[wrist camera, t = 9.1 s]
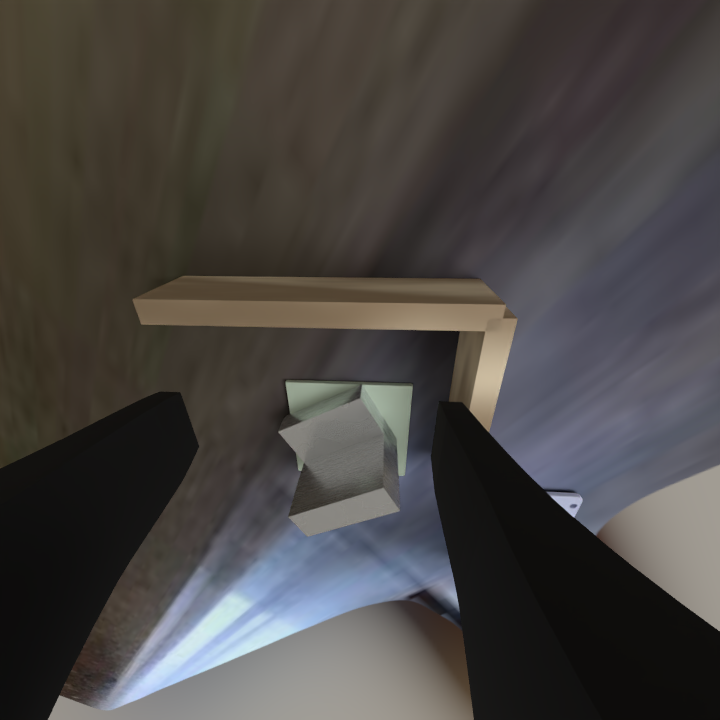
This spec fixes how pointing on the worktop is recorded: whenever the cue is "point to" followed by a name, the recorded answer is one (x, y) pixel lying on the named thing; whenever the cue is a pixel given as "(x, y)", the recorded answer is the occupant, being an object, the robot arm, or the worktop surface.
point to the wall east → (324, 303)
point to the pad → (385, 396)
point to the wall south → (482, 368)
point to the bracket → (342, 462)
